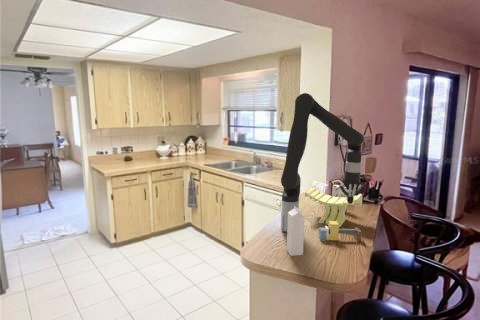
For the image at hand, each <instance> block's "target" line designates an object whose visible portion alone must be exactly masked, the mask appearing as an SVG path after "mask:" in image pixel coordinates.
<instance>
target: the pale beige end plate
mask: <svg viewBox="0 0 480 320" xmlns="http://www.w3.org/2000/svg"><path fill="white" fill-rule="evenodd" d="M324 228H325V229H326V230H327V234H326V237H328V234H329V228H328V226H327V225H324Z"/></svg>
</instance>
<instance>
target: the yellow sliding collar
mask: <svg viewBox="0 0 480 320" xmlns="http://www.w3.org/2000/svg"><path fill="white" fill-rule="evenodd" d="M327 225H328V226H327V227H328V228H329V229H330V233H329V234H328V236H327V238H328V239H329V241H339V234H340V233H339V229H340V227H339V224H338V223H337V221H329V223H328V224H327Z"/></svg>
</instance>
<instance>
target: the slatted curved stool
mask: <svg viewBox="0 0 480 320" xmlns="http://www.w3.org/2000/svg"><path fill="white" fill-rule="evenodd" d="M304 197H307V198H308V197H309V198H308V199H310V200H313V202H317V201H318V204H323V205H324V209H325V212H324V214H323V215H322V217H320V219H319V220H318V221H317V223H318V224H322V223H323V225H324V224H325V225H328V223H329V221H337V223H338V224H339V228H340V227H341V226H342V225H343V224H344V222H346V217H345V216H346V215H345V213H346V212H345V209H346V207H347V208H348V206H356V207H357V206H358V207H360V208H361V207H362V205H363V194H362V193H359V194H358V195H357V196H354V199H353V202H352V204H350V203H348V202H347V197H341V198H340V197H334V196H333V197H332V195H329V194H326V193H325V192H321V190H318V189H316V188H315V187H311V188H308V189H307V190H306V191H305V193H304Z"/></svg>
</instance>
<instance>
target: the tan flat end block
mask: <svg viewBox="0 0 480 320" xmlns="http://www.w3.org/2000/svg"><path fill="white" fill-rule="evenodd" d="M354 229H356V230H357V234H353V238H354V239H355V241H356V242H358V243H361V242H362V234H363V233H362V231H360V230H361V229H360V228H359V226H358V227H354ZM359 229H360V230H359Z"/></svg>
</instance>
